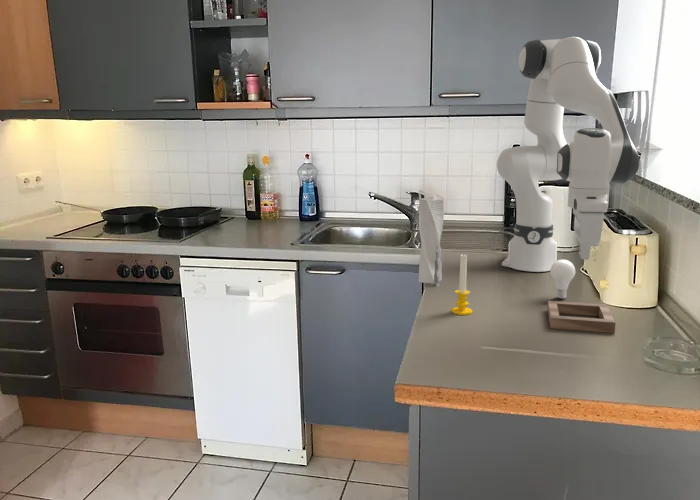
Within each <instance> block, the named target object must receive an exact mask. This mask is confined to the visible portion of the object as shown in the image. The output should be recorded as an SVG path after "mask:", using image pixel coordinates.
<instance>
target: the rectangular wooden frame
mask: <svg viewBox="0 0 700 500" xmlns="http://www.w3.org/2000/svg"><path fill="white" fill-rule="evenodd" d="M547 314H548V322H549V327H550V329H556V330H557V329H558V330H569V331H570V330H572V331H582V332H584V331H585V332H596V333H597V332H598V333H609V334H610V333H612V334H615V331H616V321H615V319H614V317H613V314H612V312H611V310H610V308H609V306H608V305H607V304H605V303H603V304H602V303H589V302H588V303H587V302H573V301H556V300H555V301H554V300H548V301H547ZM560 314H561V315H560ZM562 314H565V316H563V315H562ZM566 315H580V316H579V317H577V316H566ZM581 316H593V317H594V318H593V317H581ZM595 317H598V318H595Z"/></svg>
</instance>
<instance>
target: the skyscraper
mask: <svg viewBox="0 0 700 500" xmlns="http://www.w3.org/2000/svg"><path fill="white" fill-rule="evenodd" d="M421 193H422V194H423V196H424V197H423V198H422V196H421ZM444 214H445V199H444V197H442V196H441V195H438V194H436V195H426V192H425V191H423V190H419V191H418V227H419V228H418V230H419V237H420V242H421V244H420V253H419V265H418V283H424V284H429V285H433V286H434V287H440V282H441V281H442V280H443V279H442V278H443V276H442V272H443V271H442V270H443V269H442V265H443V264H442V263H443V262H442V251H441V250H442V249H441V238H442V234H443V228H444V216H445V215H444Z"/></svg>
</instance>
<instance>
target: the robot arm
mask: <svg viewBox="0 0 700 500" xmlns="http://www.w3.org/2000/svg"><path fill="white" fill-rule="evenodd" d="M601 53H602V52H601V48H600V46H599V44H598V43H597V42H594V41H591V40H587V39H585V40H584V39H583V38H581V37H577V36H568V37H565V38H560V39H558V38H557V39H543V40H540V39H533V40H529V41H527V42H526V43H525V44H524V45H523V46H522V48H521V51H520V53H519V56H518V57H519V58H518V65H519V70H520V71H519V72H520V73H521V75H522V76H523V77H524V78H527V79H530V84H529V87H528V92H527V98H526V105H525V113H524V123H523V124H524V126H525V128H526V130H528V131H529V132H530V133H532V134H533V135H535V136H536V138H537V145H519V146H513V147H509V148H505V149H503V150H502V151H501V152H500V153H499V155H498V157H497V161H496V168H497V172H498V174H499V176H500V177H501V178H502V179H503V180H504V181H506V183H508V185H509V186H510V188H511V189H512V191H513V193H514V197H515V203H516V204H515V205H516V206H515V207H516V209H515V211H516V215H515V216H516V218H515V219H516V220H515V223H514V226H513V227H514V228H513V235H514V236H513V237H512V238H511V239H510V240H509V242H508V244H507V245H508V246H507V250H508V252H507V257H506V258H505V259H504V260H503V261H502V262H501V266H503V267H507V268H512V269H513V270H517V271H523V272H535V273H540V272H550V269H551V266H552V264H553V263H554V262H556V261H558V260H557V257H558V242H556V241H555V240H554V238H553V236H554V225H553V214H554V212H553V211H554V202H553V199H552V198H551V197H550V196H549V195H548V194H546V193H545V192H542V191H541V189H540V185H539V181H541V182H543V181H545V182H546V181H558V180H564V181H568V182H569V184H568V196H567V207H569V208H571V209H572V214H573V215H574V222H573V230H574V234H576V237H577V239H578V243H579V244H578V245H579V253H578V255H579V256H580V259H581V260H589V259H590V252H591V248H592V247H598V246H599V245H600V243H601V237H602V231H603V226H604V218H605V213H607V212H608V209H609V203H610V201H609V200H610V199H609V198H610V189H611V188H610V187H611V185H610V184H619V185H620V184H621V185H623V184H625V183H627V182H628V181H630V180H632V179H633V177H635V175H636V174H637V173H638V172H639V167H640V156H639V152H638V150H637V148H636V146H635V145H634V143H633V141H632V140H631V137H630V134H629V132H628V129H627V126H626V123H625V120H624V119H623V118H624V117H623V115H622V112H621V110H620V108H619V104H618V102H617V99H616V98H615V95H614V93H613V92H612V91H611V90H610V89H608V88H607V87H605V86H604V85H603V84H602V83H601V82H600V80H599V79H598V78H597V77H598V76H597V75H596V74H597V73H598V71H599V68H600V64H601V62H602V61H601V60H602V54H601ZM565 109H566V110H568V111H572V112H576V113H581V114H584V115H587V116H590V117H592V118H594V119H595V120H597V121H598V122H599V123H600V124H601V126H602V128H597V127H595V128H594V127H587V128H581V129H578V130H576V131H575V133H574V135H573V140H572V141H571V142H569V143H567V141H566V138H565V135H564V130H563V122H564V112H565Z"/></svg>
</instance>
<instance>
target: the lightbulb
mask: <svg viewBox="0 0 700 500" xmlns="http://www.w3.org/2000/svg"><path fill="white" fill-rule="evenodd" d="M549 272H550V276H551V278H552V280H553V281H554V284H555V285H554V287H555V288H556V289H555V290H556V291H555V292H556V294H555V297H556V298H557V299H558V300H564V299H566V298H567V291H568V288H569V285H570V283H571V281H572V280H573V279H574V278H575V276H576V268H575V266H574V263H573V262H571V261H569V260H568V259H558V260H557V261H556V262H554V263H553V264H552V266H551V269H550V271H549Z"/></svg>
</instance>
